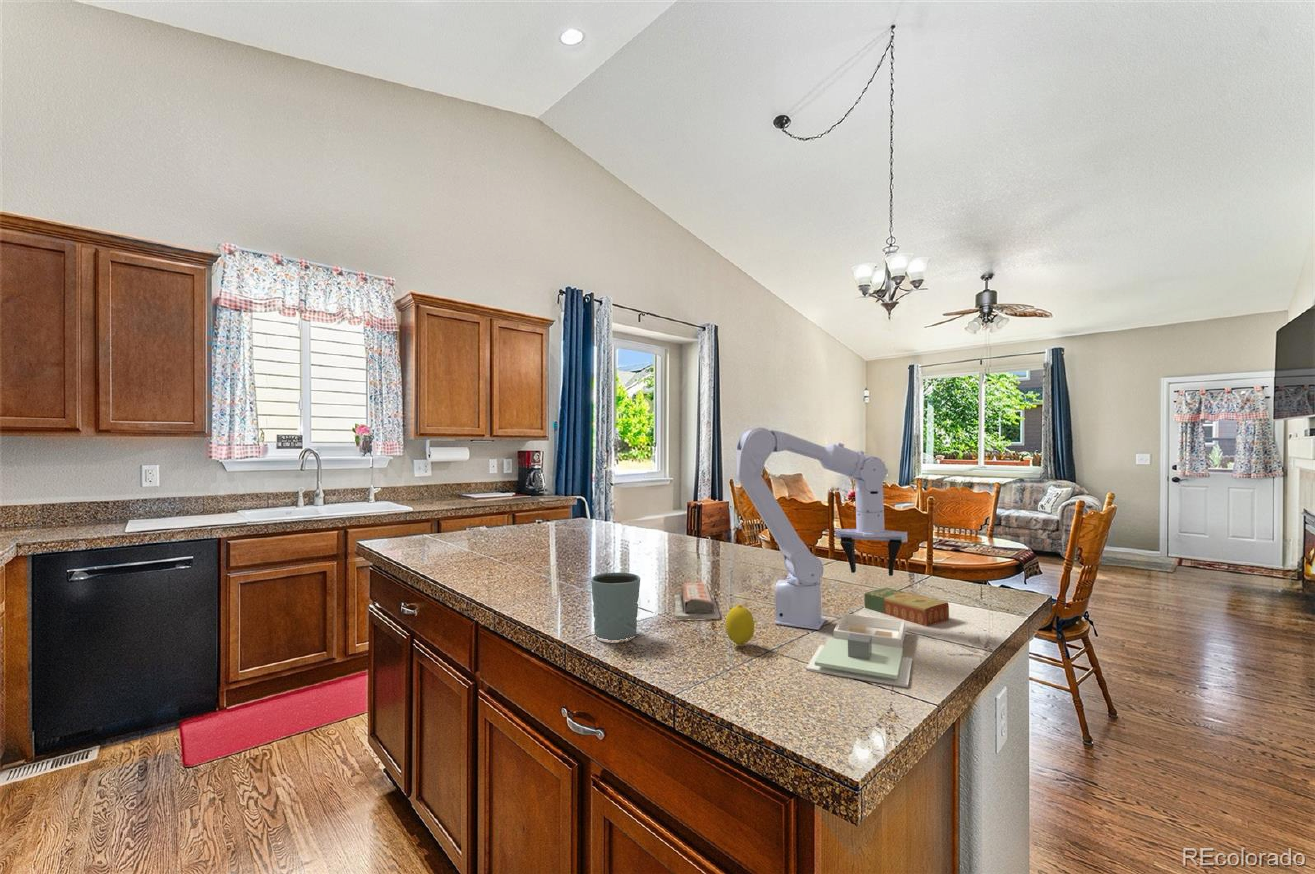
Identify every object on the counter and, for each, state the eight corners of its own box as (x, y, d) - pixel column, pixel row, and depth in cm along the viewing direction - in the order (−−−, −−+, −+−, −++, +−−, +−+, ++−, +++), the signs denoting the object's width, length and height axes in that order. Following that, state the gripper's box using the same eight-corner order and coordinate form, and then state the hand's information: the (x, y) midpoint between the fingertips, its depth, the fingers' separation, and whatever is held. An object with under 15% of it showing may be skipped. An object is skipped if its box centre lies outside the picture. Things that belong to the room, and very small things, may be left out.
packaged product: (674, 580, 141) (713, 580, 141) (674, 599, 141) (713, 599, 141) (675, 600, 123) (719, 600, 123) (675, 622, 123) (720, 622, 123)
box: (833, 643, 108) (833, 630, 108) (843, 624, 118) (843, 613, 118) (901, 653, 102) (900, 639, 102) (905, 632, 113) (905, 620, 113)
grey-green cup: (581, 636, 114) (580, 578, 114) (617, 624, 121) (616, 569, 121) (615, 648, 107) (614, 586, 107) (651, 634, 114) (650, 576, 115)
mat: (806, 669, 95) (806, 667, 95) (820, 646, 106) (820, 644, 106) (907, 687, 88) (907, 684, 88) (912, 660, 98) (912, 658, 98)
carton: (925, 628, 116) (925, 608, 116) (863, 609, 130) (863, 591, 130) (949, 621, 120) (949, 601, 120) (887, 603, 134) (886, 585, 134)
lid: (814, 669, 94) (814, 644, 94) (829, 644, 106) (828, 621, 106) (897, 683, 88) (896, 656, 88) (903, 655, 100) (902, 631, 100)
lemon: (756, 642, 109) (755, 601, 109) (752, 652, 104) (751, 609, 104) (729, 639, 111) (728, 599, 111) (723, 649, 105) (722, 607, 105)
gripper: (832, 512, 120) (834, 574, 120) (904, 514, 114) (907, 580, 114) (837, 508, 127) (839, 567, 127) (907, 510, 120) (909, 572, 120)
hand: (871, 573), depth 120 cm, fingers open, 7 cm apart
